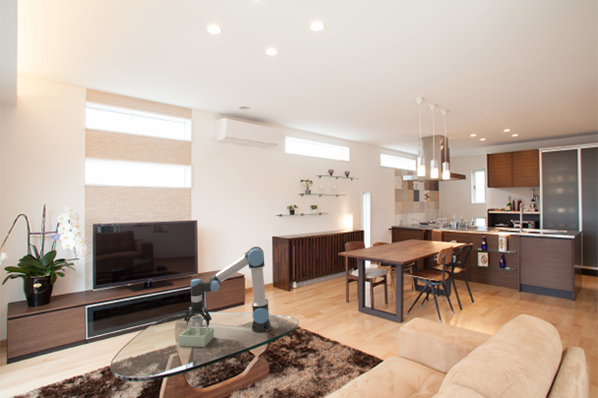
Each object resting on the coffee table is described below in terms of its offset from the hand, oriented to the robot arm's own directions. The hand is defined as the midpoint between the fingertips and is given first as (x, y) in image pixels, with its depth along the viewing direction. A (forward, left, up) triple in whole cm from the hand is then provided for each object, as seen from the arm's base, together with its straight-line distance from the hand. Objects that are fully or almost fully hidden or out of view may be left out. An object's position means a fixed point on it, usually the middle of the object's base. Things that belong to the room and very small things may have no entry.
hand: (198, 330), depth 241 cm
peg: (+1, 0, -7) cm, 7 cm away
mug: (+7, -16, -8) cm, 19 cm away
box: (0, +2, -7) cm, 8 cm away
